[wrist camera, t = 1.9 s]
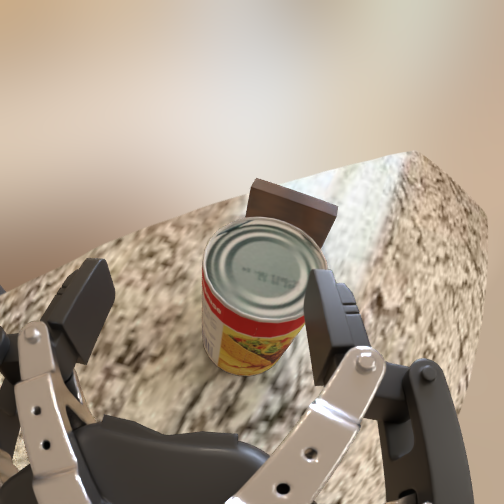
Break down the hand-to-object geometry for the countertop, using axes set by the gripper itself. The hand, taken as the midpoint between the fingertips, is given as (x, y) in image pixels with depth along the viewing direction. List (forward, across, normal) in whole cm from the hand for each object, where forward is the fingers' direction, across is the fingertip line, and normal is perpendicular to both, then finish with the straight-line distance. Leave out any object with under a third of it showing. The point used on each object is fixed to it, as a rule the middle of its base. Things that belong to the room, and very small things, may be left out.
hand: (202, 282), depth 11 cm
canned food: (+9, -2, +15) cm, 18 cm away
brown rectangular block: (+23, -6, +11) cm, 26 cm away
